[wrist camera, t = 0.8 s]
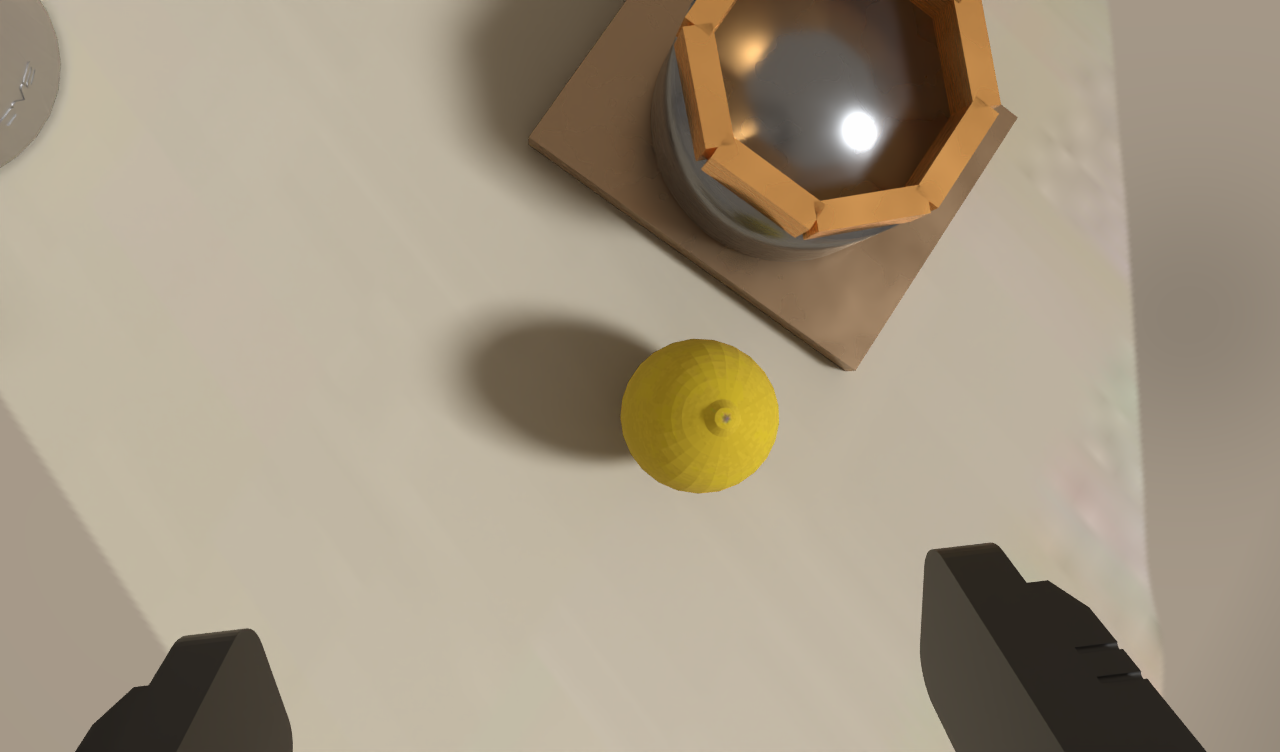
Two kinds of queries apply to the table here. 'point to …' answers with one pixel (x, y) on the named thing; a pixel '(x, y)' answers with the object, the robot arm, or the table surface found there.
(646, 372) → the lemon
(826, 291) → the pot on wooden stand
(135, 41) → the table surface
